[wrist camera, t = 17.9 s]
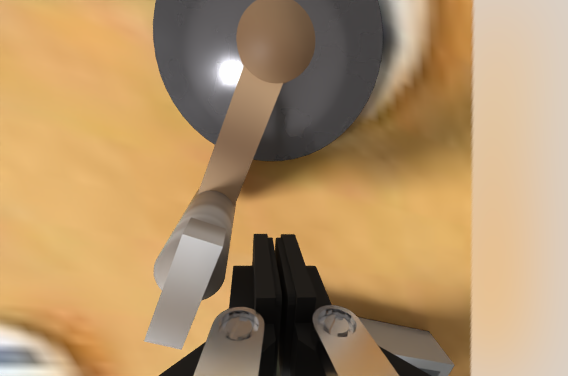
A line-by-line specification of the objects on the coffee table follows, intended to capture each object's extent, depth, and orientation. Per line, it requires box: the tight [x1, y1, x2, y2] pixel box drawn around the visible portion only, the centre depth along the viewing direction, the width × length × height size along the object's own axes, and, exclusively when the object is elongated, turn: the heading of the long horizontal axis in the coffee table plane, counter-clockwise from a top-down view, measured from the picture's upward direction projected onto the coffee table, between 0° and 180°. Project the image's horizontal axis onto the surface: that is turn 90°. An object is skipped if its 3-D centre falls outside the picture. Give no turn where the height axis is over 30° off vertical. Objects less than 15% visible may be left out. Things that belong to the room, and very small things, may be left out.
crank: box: [144, 0, 315, 350], centre depth 11 cm, size 13×4×8 cm, turn 157°
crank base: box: [153, 0, 383, 161], centre depth 15 cm, size 12×12×2 cm
